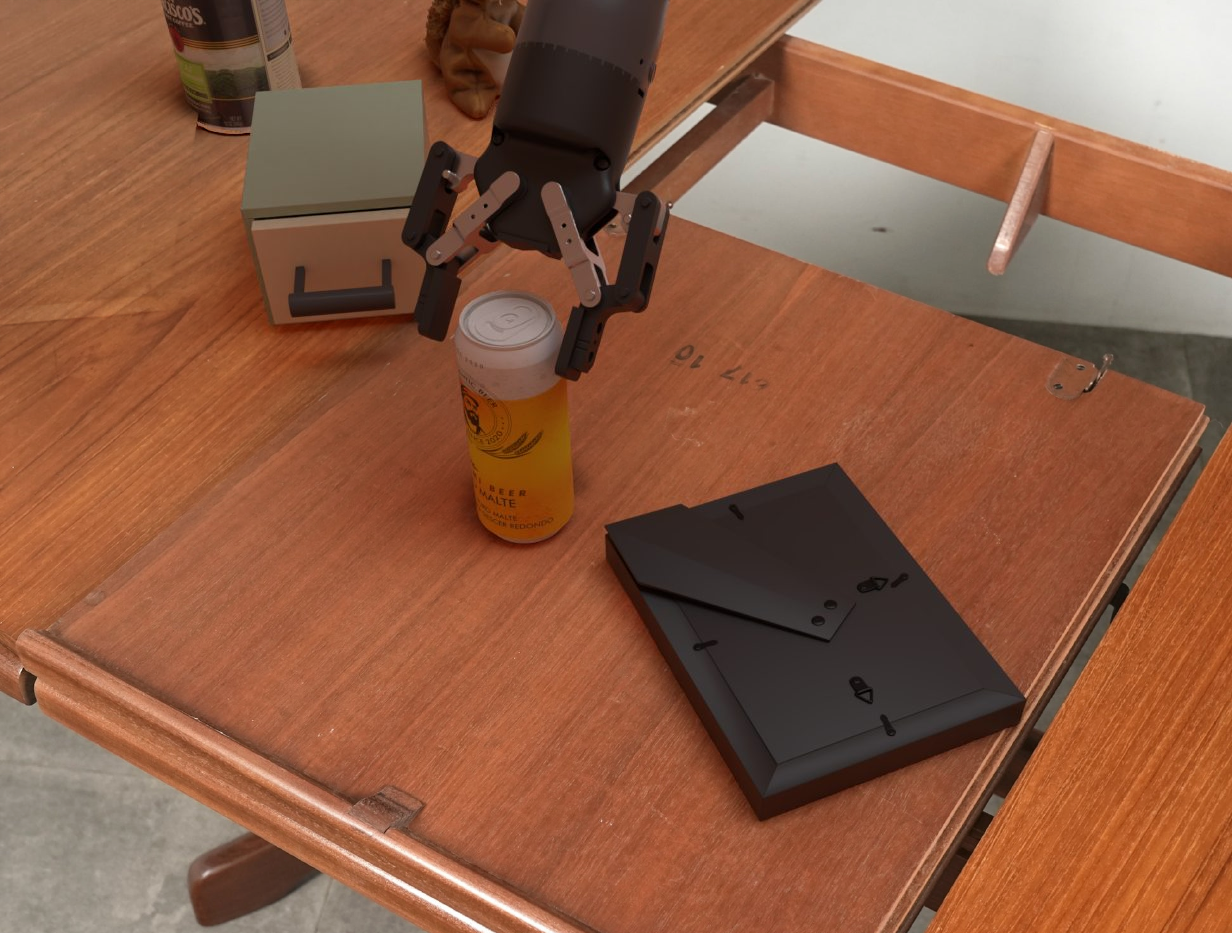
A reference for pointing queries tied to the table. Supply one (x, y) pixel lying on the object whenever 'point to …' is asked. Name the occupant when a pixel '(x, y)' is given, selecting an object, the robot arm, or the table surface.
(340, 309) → the drawer
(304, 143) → the cabinet
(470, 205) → the robot arm
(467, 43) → the stuffed squirrel
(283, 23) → the coffee can
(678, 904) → the table surface
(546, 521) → the beer can
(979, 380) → the table surface
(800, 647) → the picture frame
